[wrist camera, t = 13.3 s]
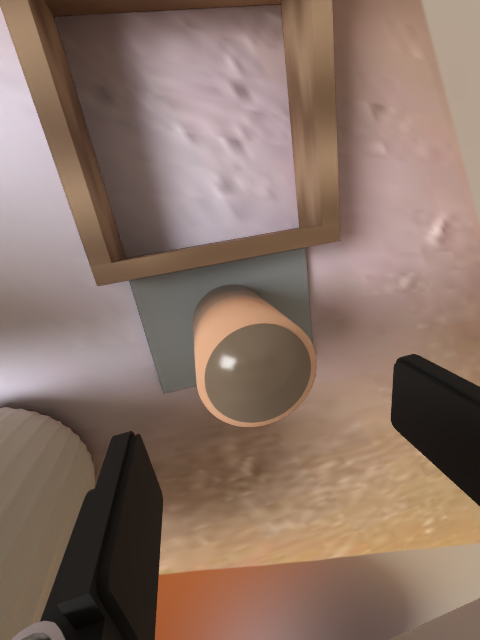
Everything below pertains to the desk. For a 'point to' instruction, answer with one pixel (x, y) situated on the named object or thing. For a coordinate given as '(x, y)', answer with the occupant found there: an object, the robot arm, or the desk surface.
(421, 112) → the desk surface
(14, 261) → the desk surface
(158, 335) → the mat
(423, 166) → the desk surface
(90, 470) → the canister
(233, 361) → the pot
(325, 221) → the frame
